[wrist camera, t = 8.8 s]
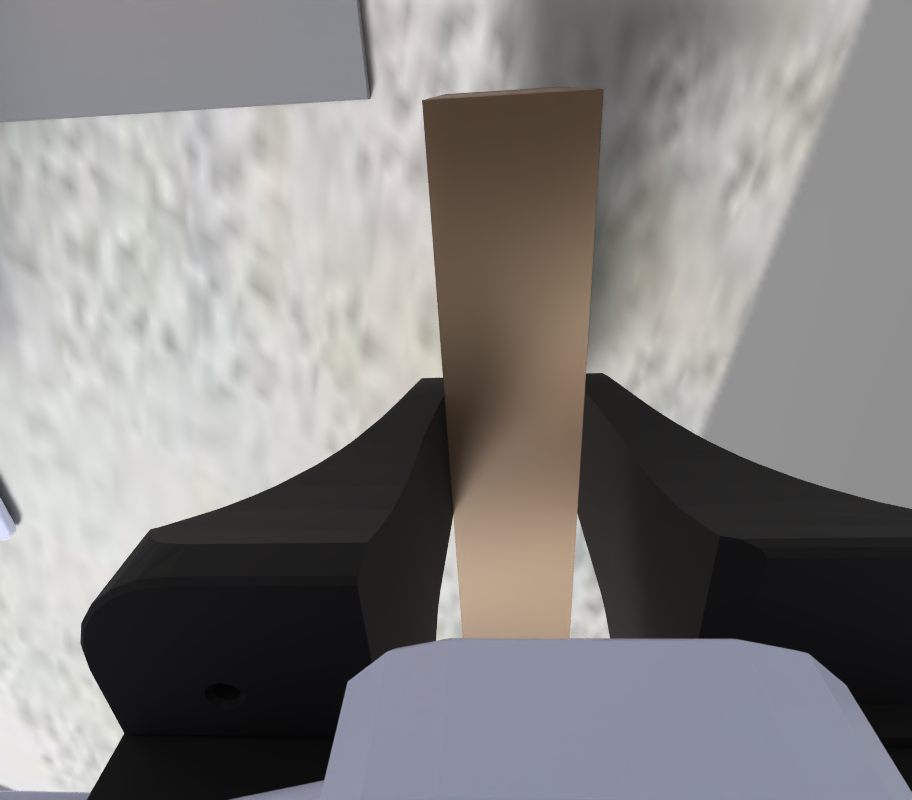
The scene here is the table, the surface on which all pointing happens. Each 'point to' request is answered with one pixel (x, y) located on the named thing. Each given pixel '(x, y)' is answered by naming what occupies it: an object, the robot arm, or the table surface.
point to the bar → (514, 340)
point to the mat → (176, 55)
